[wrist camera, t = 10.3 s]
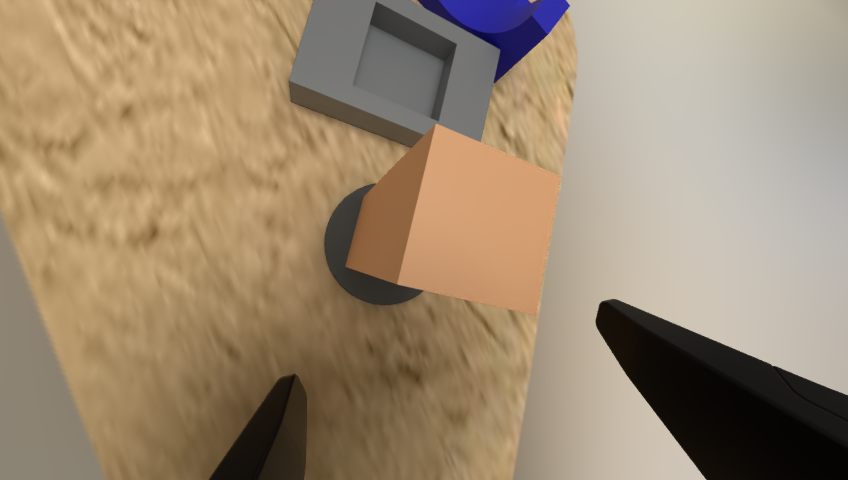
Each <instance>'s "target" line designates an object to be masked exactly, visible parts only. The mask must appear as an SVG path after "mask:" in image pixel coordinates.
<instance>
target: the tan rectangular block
mask: <svg viewBox="0 0 848 480" xmlns="http://www.w3.org/2000/svg"><path fill="white" fill-rule="evenodd" d="M560 180H561V176H559V175H557V174H554V173H552V172H550V171H547V170H545V169H542V168H540V167H538V166H535V165H533V164H531V163H528V162H526V161H524V160H521V159H519V158H516V157H514V156H512V155H509V154H507V153H505V152H502V151H500V150H498V149H495V148H493V147H490V146H488V145H486V144H483V143H481V142H479V141H476V140H474V139H472V138H469V137H467V136H464V135H462V134H460V133H457V132H455V131H453V130H450V129H448V128H446V127H443V126H441V125H438V124H435V125H434V126H433V127H432V128H431V129H430V130H429V131H428V132H427V133H426V134H425V135H424V136H423V137H422V138H421V139H420V140H419V141H418V142H417V143H416V144H415V145H414V146H413V147H412V148H411V149H410V150H409V151H408V152H407V153H406V154H405V155H404V156H403V157H402V158H401V159H400V160H399V161H398V162H397V163H396V164H395V165H394V166H393V167H392V168H391V169H390V170H389V171H388V173H387V174H386V175H385V176H384V177H383V178H382V179H381V180H380V181H379V182H378V183H377V184H376V185H375V186H374V187H373V188H372V189H371V190H370V191H369V192H368V193H367V194H366V195H365V196H364V197H363V201H362V205H361V209H360V212H359V216H358V220H357V224H356V227H355V231H354V235H353V239H352V243H351V246H350V250H349V254H348V258H347V261H346V265H345V267H347V268H350V269H353V270H356V271H359V272H362V273H365V274H368V275H371V276H374V277H377V278H380V279H383V280H385V281H388V282H391V283H394V284H397V285H402V286H406V287H411V288H415V289H420V290H424V291H429V292H433V293H437V294H442V295H446V296H451V297H455V298H460V299H464V300H469V301H473V302H478V303H482V304H487V305H491V306H496V307H500V308H505V309H509V310H514V311H518V312H522V313H527V314H531V315H536V312H537V307H538V301H539V296H540V290H541V285H542V279H543V274H544V268H545V263H546V257H547V251H548V246H549V240H550V235H551V229H552V224H553V218H554V213H555V207H556V202H557V196H558V191H559V185H560Z"/></svg>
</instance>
